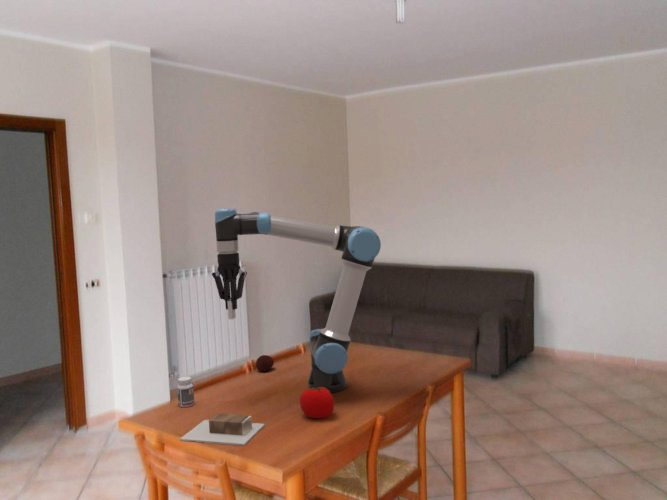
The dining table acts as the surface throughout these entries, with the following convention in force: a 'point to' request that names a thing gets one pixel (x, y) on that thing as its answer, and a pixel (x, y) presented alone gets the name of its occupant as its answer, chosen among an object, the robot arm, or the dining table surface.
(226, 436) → the mat
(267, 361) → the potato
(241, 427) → the slab
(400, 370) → the dining table surface
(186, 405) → the pill bottle
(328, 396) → the tomato
